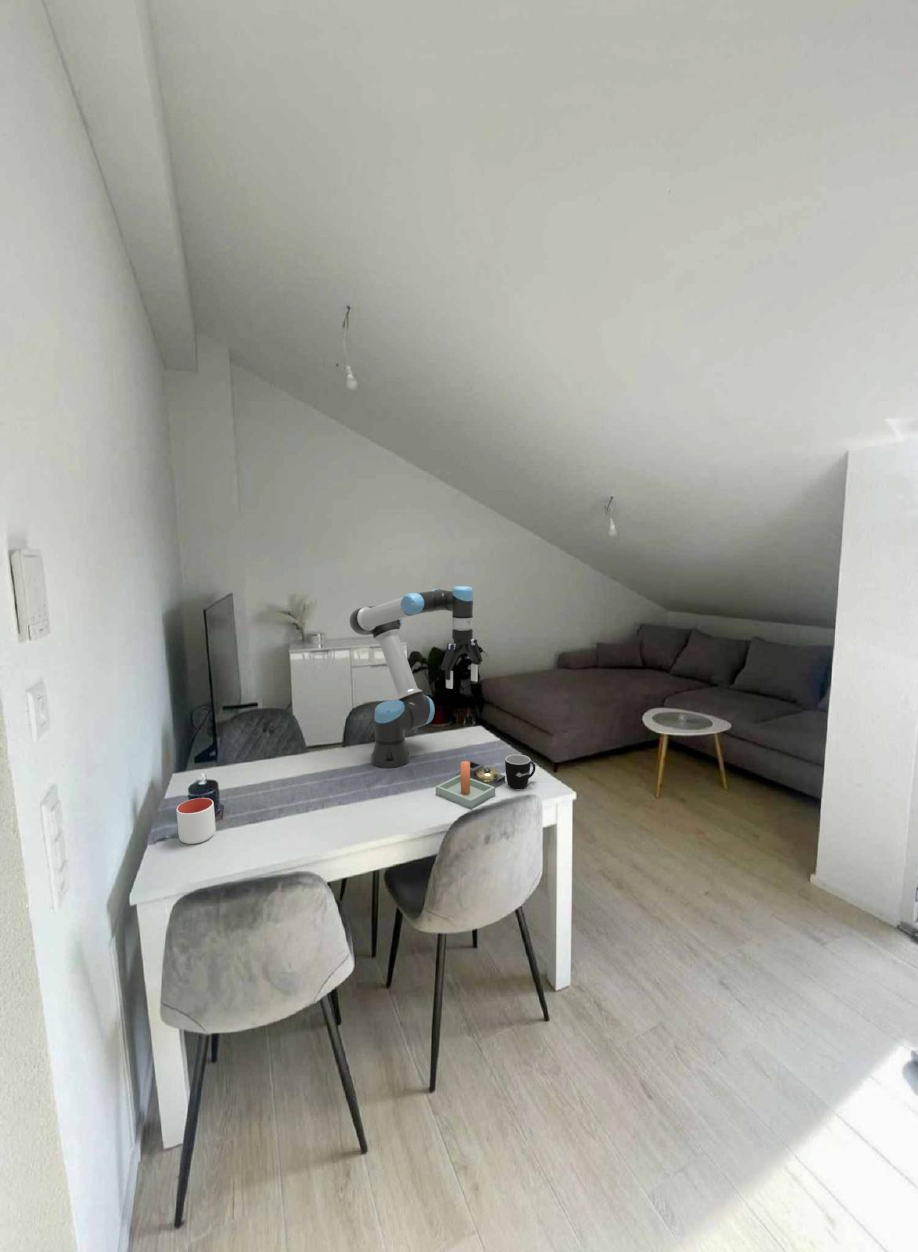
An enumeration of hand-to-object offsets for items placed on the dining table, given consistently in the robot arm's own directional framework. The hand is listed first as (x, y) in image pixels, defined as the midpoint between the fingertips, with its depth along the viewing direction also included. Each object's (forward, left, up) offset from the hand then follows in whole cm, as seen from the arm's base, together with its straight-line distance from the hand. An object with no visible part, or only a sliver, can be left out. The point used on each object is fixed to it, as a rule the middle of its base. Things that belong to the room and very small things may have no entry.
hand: (462, 684), depth 209 cm
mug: (+25, +4, -34) cm, 42 cm away
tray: (+15, -15, -34) cm, 40 cm away
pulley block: (+12, -3, -34) cm, 36 cm away
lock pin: (+15, -16, -33) cm, 39 cm away
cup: (-28, -88, -34) cm, 99 cm away
